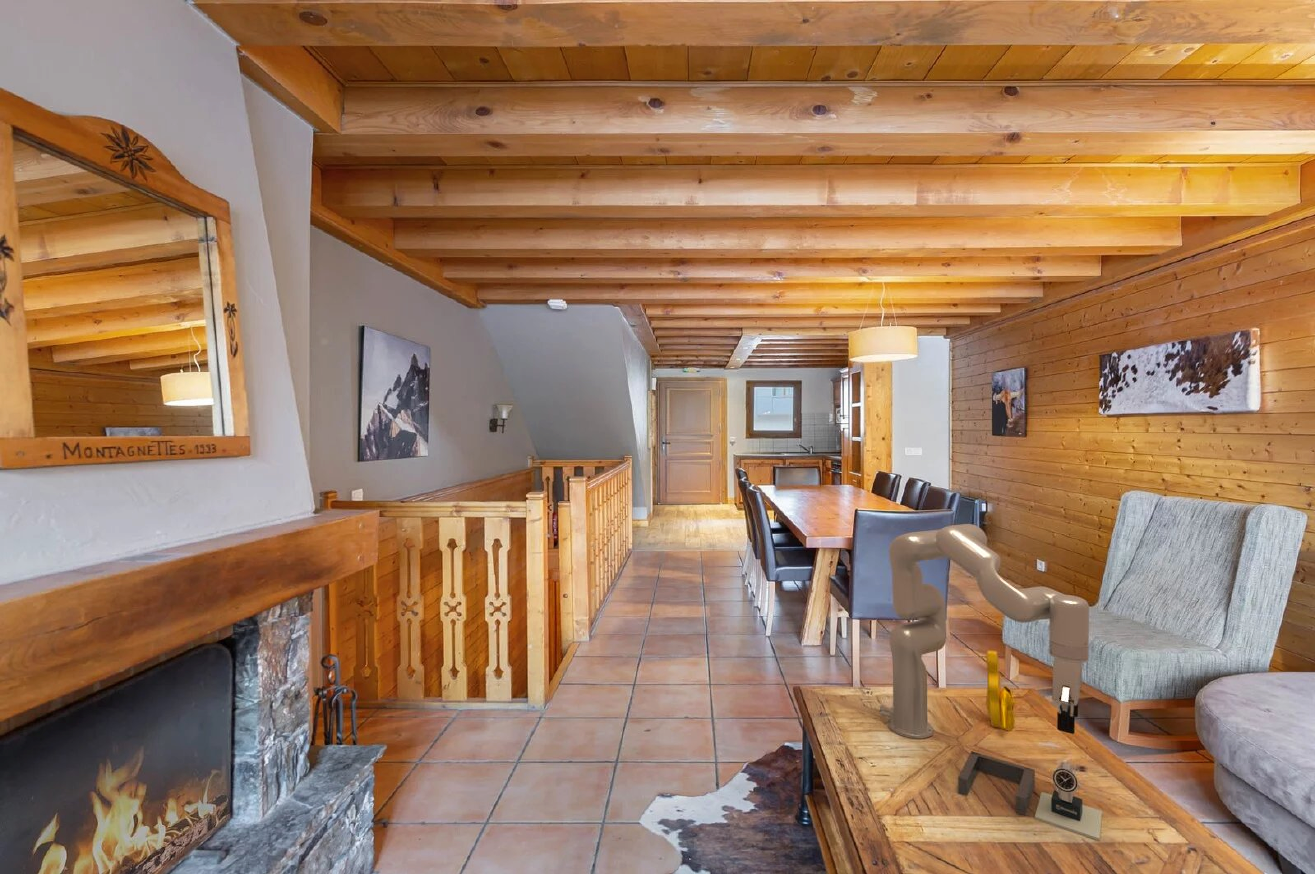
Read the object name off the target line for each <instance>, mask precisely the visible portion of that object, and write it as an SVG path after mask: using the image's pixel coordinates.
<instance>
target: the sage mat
mask: <svg viewBox="0 0 1315 874" xmlns="http://www.w3.org/2000/svg"><path fill="white" fill-rule="evenodd" d="M1052 795H1053V794H1049V793H1046V792H1044V791H1043V792H1042V791H1041V792H1040V797H1039V800H1038V803H1037V808H1036V811H1035V815H1034V819H1035V820H1036V821H1039V822H1043V823H1045V824H1048V825H1051V826H1053V827H1054V826H1055V827H1056V828H1060V829H1062V830H1065V831H1068V832H1071V833H1073V834H1074V833H1075V834H1077V835H1081V836H1084V837H1087V838H1090V839H1093V840H1096V841H1098V842H1100V840H1101V829H1102V817H1103V810H1100V809H1097V808H1094V807H1090V806H1088V805H1084V804H1082V816H1081V820H1080V821H1077V820H1074V819H1071V818H1068V817H1065V816H1063V815H1060V814H1057V813H1054V812H1051V798H1052Z"/></svg>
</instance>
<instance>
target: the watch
mask: <svg viewBox="0 0 1315 874" xmlns="http://www.w3.org/2000/svg"><path fill="white" fill-rule="evenodd" d="M1076 774H1077V773H1076V770H1075V765H1074V764H1071V763H1068V762H1065V761H1061V762H1060V765H1057V767H1056V769H1055V770H1054V771H1053V773H1052V775H1051V776H1052V778H1051V779H1052V782H1053V784H1054V787H1055V789H1054V790H1053V793H1052V794H1051V795H1052V798H1051V812H1054V813H1057V814H1060V815H1063V816H1065V817H1068V818H1071V819H1074V820H1077V821H1080V820H1081V816H1082V805H1083V798H1080V797H1078V796H1074V795H1075V792H1076V791H1077V789H1078V787H1079V788H1081V783H1079V781H1078V777H1077V775H1076Z"/></svg>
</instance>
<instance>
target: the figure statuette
mask: <svg viewBox="0 0 1315 874" xmlns="http://www.w3.org/2000/svg"><path fill="white" fill-rule="evenodd" d="M998 655H999V653H998V651H996V650H990V649H989V650H987V652H986V656H985V657H986V669H987V685H986V686H987V690H986V700H985V704H986V708H987V711H988V714H989V717H990V722H991V723H990V724H991V727H994V728H1000V729H1002V730H1004V731H1008V732H1011V731H1013V728H1014V726H1015V722H1016V719H1015V714H1014V707H1015V704H1016V700H1015V698H1014V696H1013V695H1014V694H1013V691H1012V690H1011V689H1010V688H1009V687H1008V685H1007V686H1006V685H1005V686H1004V685H1003V686H1002V683H1001V676H1000V672H999V671H1000V670H999V669H1000V668H999V656H998Z"/></svg>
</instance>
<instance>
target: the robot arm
mask: <svg viewBox="0 0 1315 874" xmlns="http://www.w3.org/2000/svg"><path fill="white" fill-rule="evenodd" d="M987 545H988V537H987V535H986V532H984V530H983V529H982V528H980V527H979V526H978V525H975V524H971V523H962V524H955V525H954V524H952V525H948V526H945V527H943V528H940V529H934V530H933V529H931V530H925V531H914V532H913V531H912V532H907V533H904V534H901V535H899V536H896V537H895V538H894V539H893V540H892V541H891V544H890V545H889V549H888V552H889V553H888V557H889V563H890V568H891V584H892V589H891V590H892V605H893V606H892V607H893V610H894V612H895V614H896V615H897V617H898V618H900V619H903V620H914V619H915V621H910V622H909V621H908V622H904V623H901V624H898V625H896V626H894V627H893V628H892V629H891V630H890V632H889V635H888V641H889V648H890V652H891V658H892V707H890V708H889V707H887V706H885V705H879V707H878V708H879V709H878V710H879V711H878V712H880V716H883V717H886V718H888V719H887V726H888V729H890V731H891V732H893V733H894V734H897V735H900V736H902V737H905V738H910V739H919V740H920V739H927V738H929V737H930V736H932V735H933V734H934V727H933V726H932V725H931V723H929V722H928V671H927V670H928V669H927V667H926V664H925V663H924V661H923V659H922V656H923V655H926V654H930V653H935V652H938V651H940V650H942V649H943V648H944V646H945V645H946V642H947V619H946V618H947V615H946V614H947V613H946V602H945V598H944V596H943V594H942V592H941V591H940V589H939V588H938V587H936V586H935V585H934V584H931V583H923V572H922V570H921V567H920V566H919V564H918V562H923V561H925V562H926V561H933V560H941V559H947V558H948V559H950V560H951V561H952V562H953V563H954V564H956V565H957V566H958V567H960V568H961V569H963V570H964V572H966V573H968V574H969V575H970V576H972V577H973V579H975V580H976V584H977V586H978V588H979V591H980V592H981V595H982V596H983V598H984V599H985V601H987V602H988V603H989V605H991V606H993V607H994V608H995V609H997V611H998V612H1000V613H1001V614H1003V616H1006V617H1007V618H1009V619H1010V620H1012V621H1014V622H1017V623H1021V624H1022V623H1023V624H1027V623H1031V622H1032V623H1033V622H1035V621H1039V620H1049V624H1048V625H1049V626H1048V627H1049V631H1048V632H1049V635H1048V636H1049V637H1048V638H1049V640H1048V641H1049V643H1048V645H1049V646H1048V650H1049V651H1048V653H1049V655H1050V656H1051V657H1053V666H1052V690H1051V691H1052V692H1051V693H1052V695H1051V699H1052V700H1053V702H1055V701H1058V710H1057V717H1056V718H1057V721H1056V722H1057V723H1056V725H1057V726H1056V728H1057V730H1058V731H1060V732H1062V733H1063V732H1064V733H1067V734H1072V735H1074V734H1075V727H1076V726H1075V723H1076V721H1075V720H1076V719H1075V718H1078V716H1079V699H1080V695H1081V688H1082V681H1083V679H1082V677H1083V663H1087V662H1089V653H1090V652H1089V646H1090V644H1089V641H1090V640H1089V638H1090V637H1089V635H1090V631H1089V630H1090V605H1089V602H1088V601H1087V600H1085V599H1084V598H1082V597H1079V596H1076V595H1072V594H1071V595H1070V594H1064V593H1062V592H1060V591H1057V590H1055V589H1053V588H1051V587H1046V586H1034V587H1027V588H1022V589H1017V588H1015V587H1014V586H1012V585H1011V584H1010V583H1008V582H1007V581H1006V580H1004V579H1003V578H1002V577H1001V576H1000V575H999V573H998V571H999V569H1000V566H1001V564H1002V560H1001V557H1000V556H999V554H998V553H997V552H995V551H994V550H992V549H991V548H989V547H988V546H987ZM917 619H918V620H917Z"/></svg>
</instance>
